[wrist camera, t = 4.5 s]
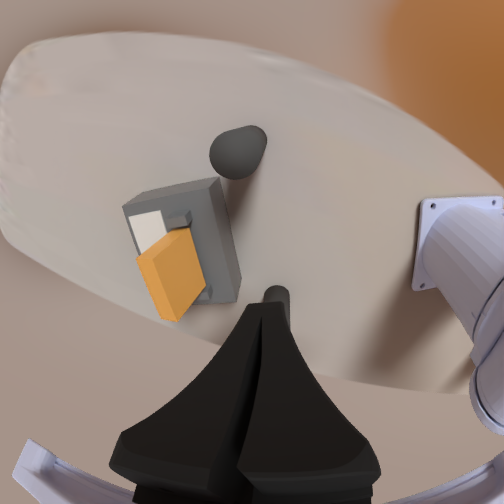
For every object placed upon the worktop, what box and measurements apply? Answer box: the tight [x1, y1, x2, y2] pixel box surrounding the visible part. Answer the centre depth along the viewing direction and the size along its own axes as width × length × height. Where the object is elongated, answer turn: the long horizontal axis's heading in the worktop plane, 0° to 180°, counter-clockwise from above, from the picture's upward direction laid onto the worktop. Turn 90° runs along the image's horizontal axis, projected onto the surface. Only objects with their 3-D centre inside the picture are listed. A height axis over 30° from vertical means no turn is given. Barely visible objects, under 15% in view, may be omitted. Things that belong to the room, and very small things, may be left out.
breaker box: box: [122, 177, 242, 305], centre depth 18 cm, size 6×8×4 cm
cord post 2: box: [264, 285, 290, 328], centre depth 19 cm, size 2×2×7 cm
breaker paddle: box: [136, 228, 206, 322], centre depth 15 cm, size 1×4×4 cm, turn 10°
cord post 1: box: [209, 125, 267, 180], centre depth 13 cm, size 2×2×7 cm
